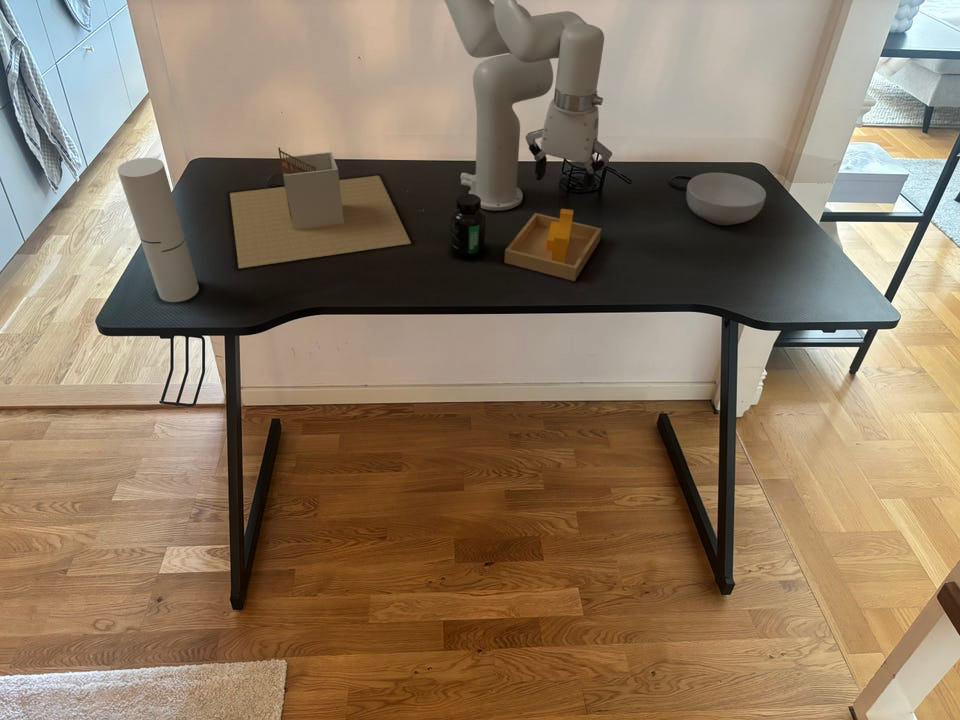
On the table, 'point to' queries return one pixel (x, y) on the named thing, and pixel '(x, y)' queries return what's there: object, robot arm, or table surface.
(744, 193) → the cereal bowl
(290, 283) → the table surface
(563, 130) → the robot arm
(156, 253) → the cylindrical container
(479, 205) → the supplement bottle
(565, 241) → the yellow stepped block
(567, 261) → the tray
